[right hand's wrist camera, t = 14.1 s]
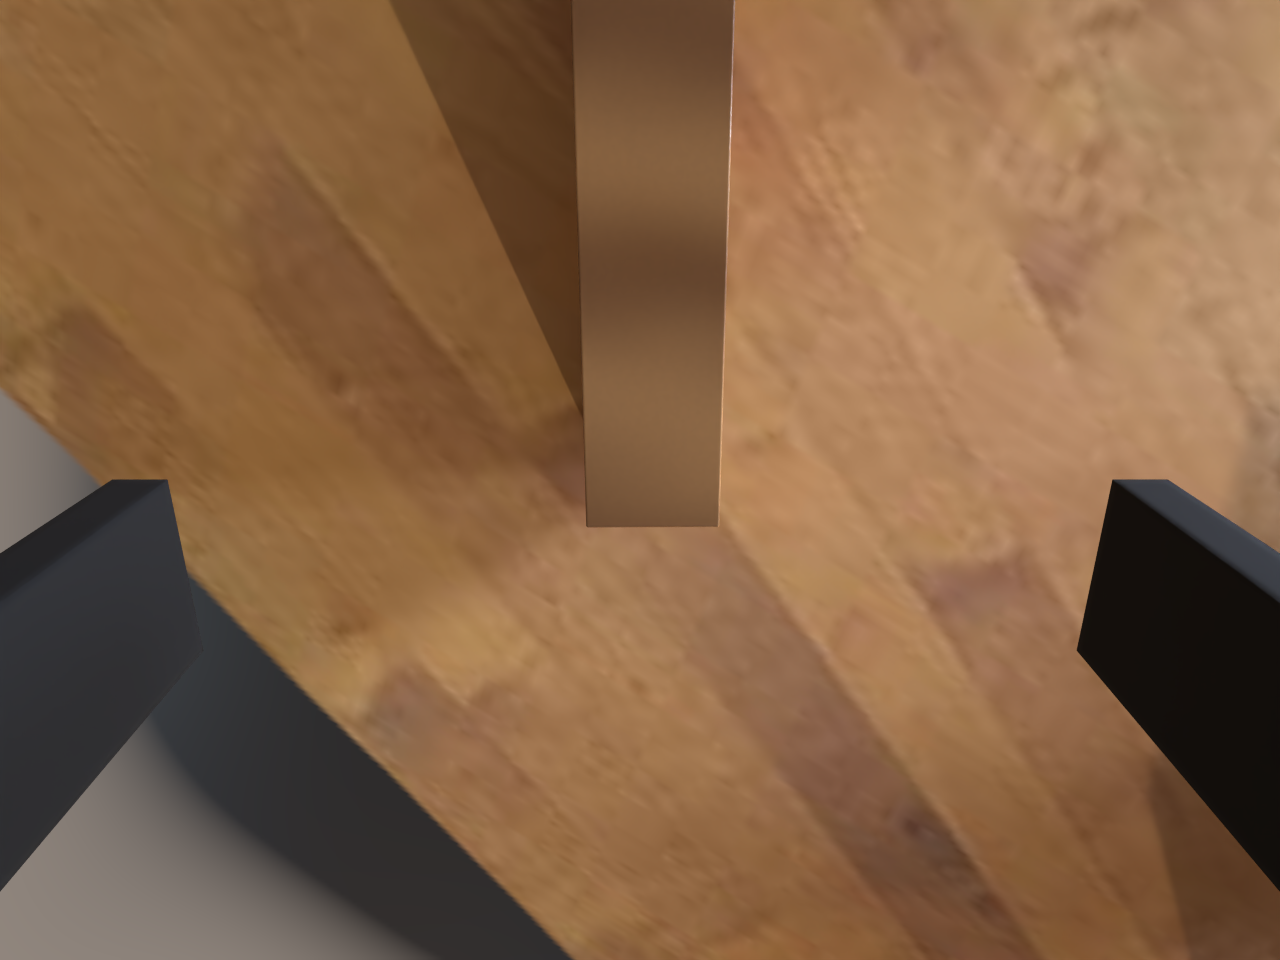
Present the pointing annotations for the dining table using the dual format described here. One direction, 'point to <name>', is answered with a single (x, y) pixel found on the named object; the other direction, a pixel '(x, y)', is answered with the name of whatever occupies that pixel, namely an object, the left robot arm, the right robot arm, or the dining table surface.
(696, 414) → the post
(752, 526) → the dining table surface
